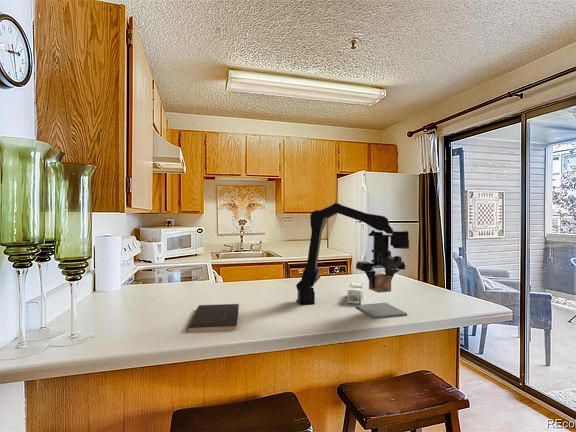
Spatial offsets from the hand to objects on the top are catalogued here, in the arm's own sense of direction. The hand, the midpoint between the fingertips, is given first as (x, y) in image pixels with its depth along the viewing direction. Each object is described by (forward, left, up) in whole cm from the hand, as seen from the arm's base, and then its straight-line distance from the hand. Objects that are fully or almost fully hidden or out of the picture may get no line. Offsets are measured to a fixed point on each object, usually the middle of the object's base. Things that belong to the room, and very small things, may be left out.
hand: (380, 287), depth 120 cm
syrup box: (+2, +23, -6) cm, 24 cm away
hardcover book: (-63, +7, -10) cm, 64 cm away
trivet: (0, 0, -9) cm, 9 cm away
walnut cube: (0, 0, -1) cm, 1 cm away
